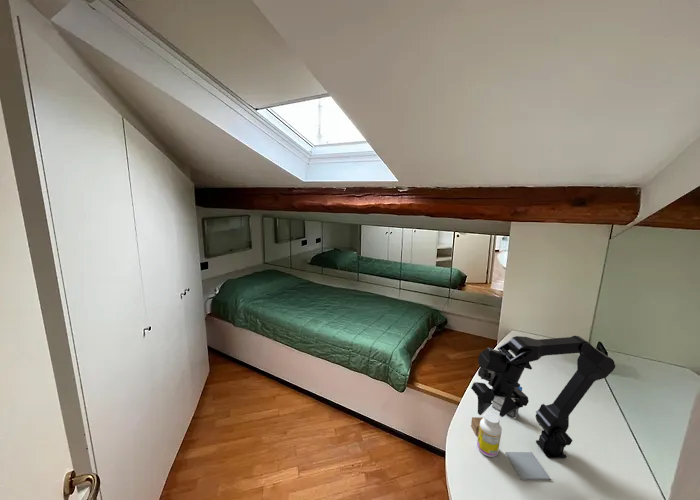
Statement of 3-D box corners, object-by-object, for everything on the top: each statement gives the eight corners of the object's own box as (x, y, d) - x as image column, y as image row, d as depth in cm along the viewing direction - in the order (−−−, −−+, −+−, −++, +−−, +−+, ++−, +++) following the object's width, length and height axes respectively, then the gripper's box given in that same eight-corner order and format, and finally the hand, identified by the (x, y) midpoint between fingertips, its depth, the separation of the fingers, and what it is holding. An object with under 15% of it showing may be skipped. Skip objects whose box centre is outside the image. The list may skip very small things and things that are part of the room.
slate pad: (531, 453, 98) (532, 452, 97) (550, 479, 89) (550, 478, 89) (505, 453, 97) (505, 451, 97) (521, 479, 89) (521, 478, 88)
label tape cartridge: (491, 406, 118) (495, 380, 116) (495, 402, 121) (499, 376, 118) (514, 419, 112) (519, 391, 109) (518, 414, 115) (522, 387, 112)
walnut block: (481, 426, 108) (482, 417, 108) (486, 435, 104) (487, 426, 104) (470, 426, 108) (472, 417, 107) (475, 435, 104) (476, 426, 104)
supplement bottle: (479, 437, 103) (484, 406, 101) (500, 448, 99) (505, 416, 97) (474, 450, 98) (478, 417, 96) (495, 462, 94) (500, 428, 91)
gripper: (512, 362, 103) (494, 399, 106) (470, 356, 98) (453, 394, 101) (538, 384, 93) (518, 424, 96) (493, 378, 87) (473, 421, 90)
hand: (490, 415), depth 96 cm, fingers open, 9 cm apart
